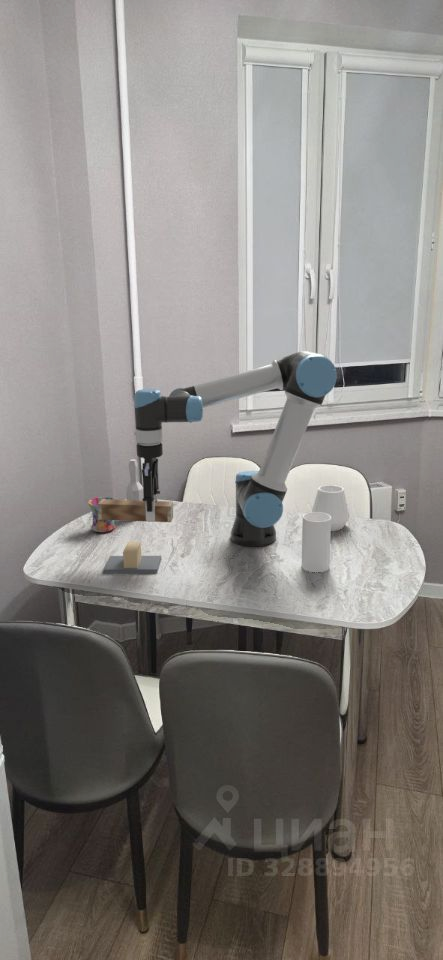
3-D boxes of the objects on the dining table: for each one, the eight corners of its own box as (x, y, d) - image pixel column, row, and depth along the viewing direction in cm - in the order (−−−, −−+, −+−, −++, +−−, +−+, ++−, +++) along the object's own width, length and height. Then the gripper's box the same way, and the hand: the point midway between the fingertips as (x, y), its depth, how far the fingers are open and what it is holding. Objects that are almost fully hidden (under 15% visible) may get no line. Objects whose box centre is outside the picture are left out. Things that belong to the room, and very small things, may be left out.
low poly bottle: (125, 520, 225) (121, 462, 219) (130, 514, 231) (127, 457, 225) (142, 520, 224) (138, 462, 218) (146, 514, 230) (143, 458, 224)
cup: (312, 575, 179) (313, 523, 174) (296, 564, 186) (297, 514, 181) (334, 569, 182) (336, 518, 178) (318, 559, 189) (319, 510, 185)
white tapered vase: (352, 533, 210) (354, 494, 206) (312, 533, 210) (314, 494, 206) (345, 519, 222) (346, 482, 218) (308, 519, 223) (309, 483, 219)
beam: (173, 517, 188) (173, 501, 187) (171, 522, 184) (170, 506, 182) (102, 514, 190) (101, 498, 188) (98, 519, 185) (97, 503, 184)
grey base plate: (161, 559, 191) (160, 540, 189) (157, 573, 182) (156, 553, 180) (110, 559, 192) (108, 540, 190) (103, 573, 182) (101, 553, 180)
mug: (106, 536, 211) (104, 506, 208) (84, 532, 215) (82, 503, 211) (126, 524, 221) (124, 496, 218) (105, 521, 225) (103, 493, 222)
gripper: (142, 436, 188) (145, 508, 195) (130, 449, 172) (134, 527, 178) (166, 436, 188) (168, 508, 195) (156, 450, 171) (159, 528, 178)
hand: (152, 517), depth 186 cm, fingers closed on beam, 4 cm apart
